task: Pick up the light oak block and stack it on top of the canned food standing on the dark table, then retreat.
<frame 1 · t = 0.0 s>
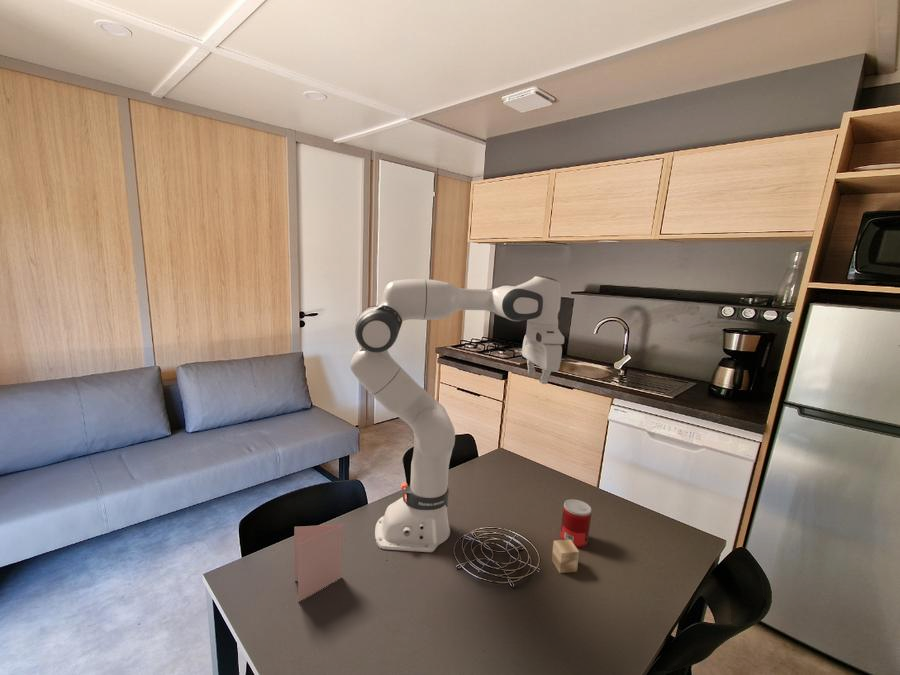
hand: (537, 378, 118), 48 cm above the table, fingers open, 8 cm apart
canned food: (573, 539, 120), on the table
greeting card: (317, 589, 96), on the table
oak block: (563, 565, 109), on the table
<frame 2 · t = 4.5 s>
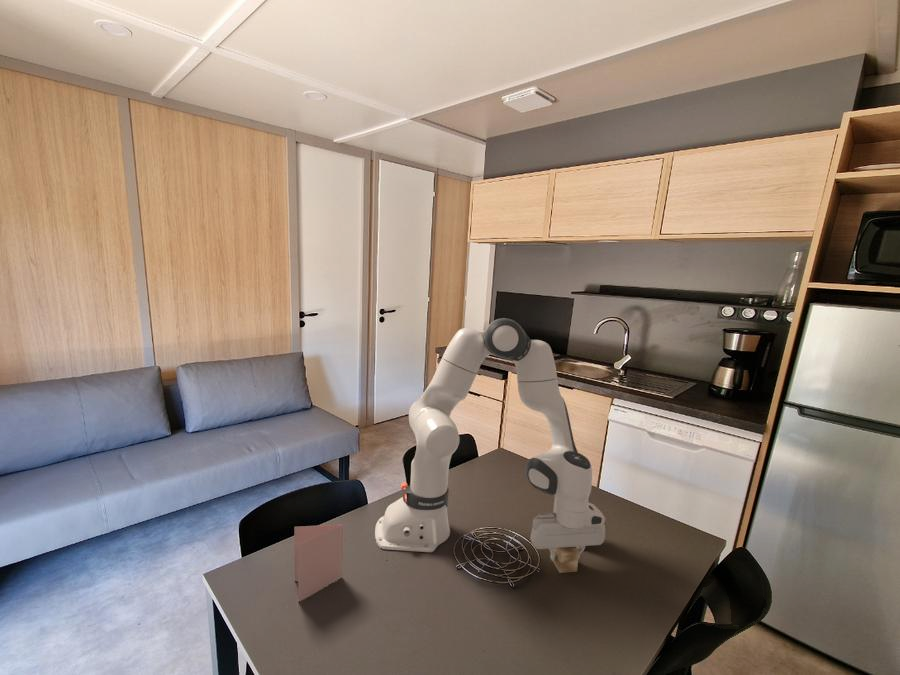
hand: (564, 558, 109), 2 cm above the table, fingers closed on oak block, 5 cm apart
oak block: (564, 565, 109), on the table, touching gripper
everything else where it was.
when the fingers open (15 cm above the table, at t = 9.7 s): oak block drops 2 cm, resting on canned food.
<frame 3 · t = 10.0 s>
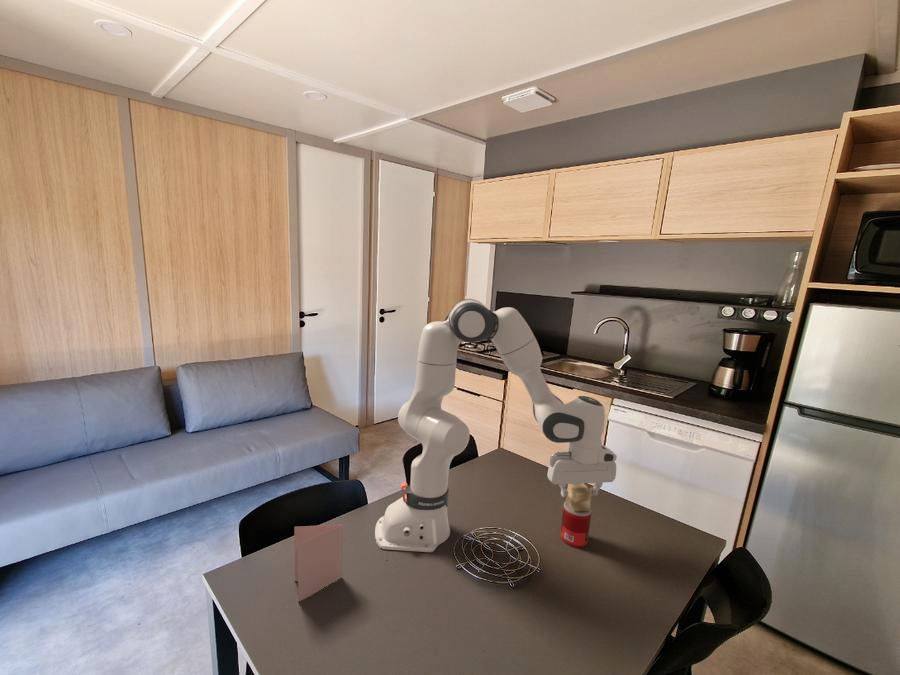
hand: (578, 495, 118), 15 cm above the table, fingers open, 8 cm apart
canned food: (573, 540, 120), on the table, touching oak block
oak block: (577, 506, 118), point 11 cm above the table, touching canned food
everything else where it was.
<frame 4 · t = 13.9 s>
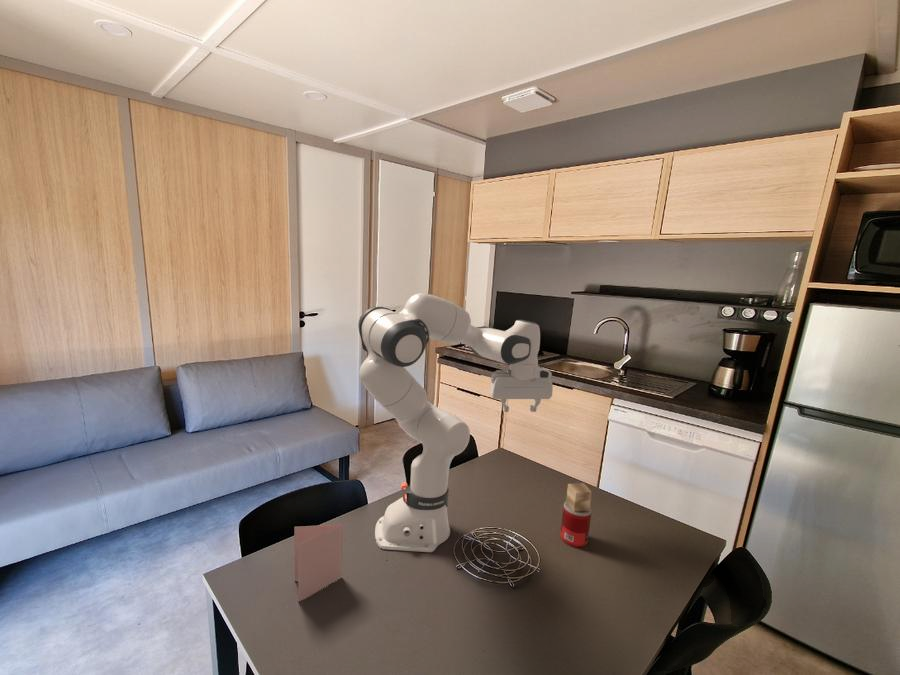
hand: (519, 411, 129), 34 cm above the table, fingers open, 8 cm apart
nothing on the table moved.
at the end: oak block 0.1 cm from the canned food (horizontally); oak block point 10.9 cm above the table; oak block tilted 0° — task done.
